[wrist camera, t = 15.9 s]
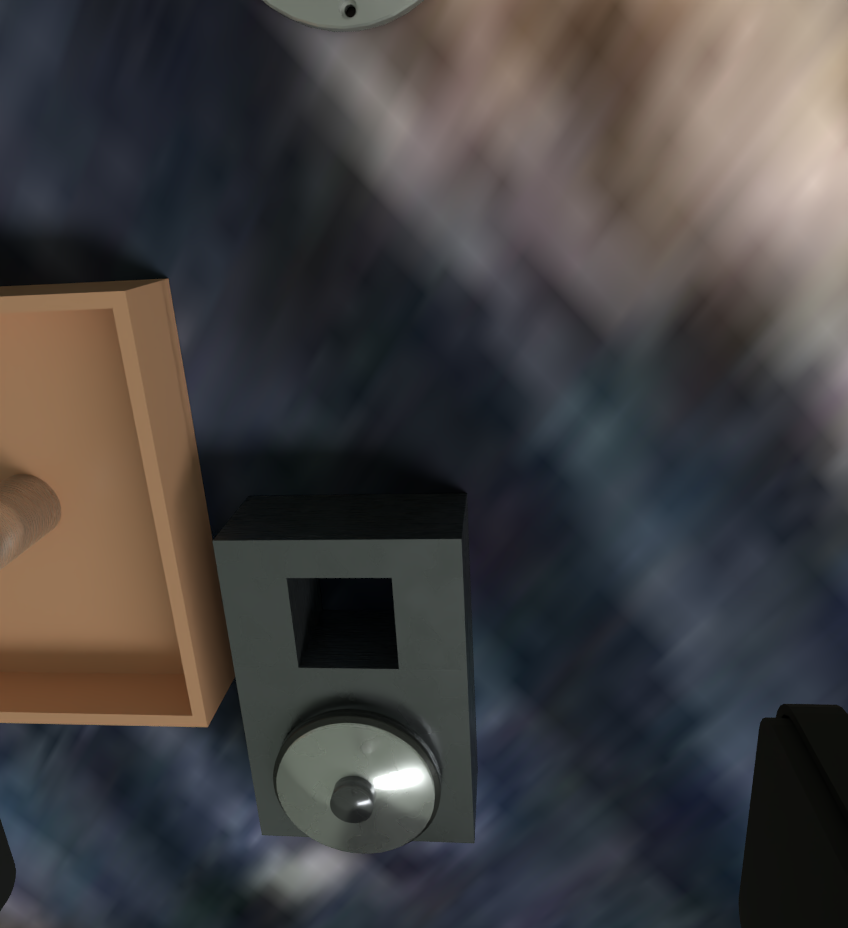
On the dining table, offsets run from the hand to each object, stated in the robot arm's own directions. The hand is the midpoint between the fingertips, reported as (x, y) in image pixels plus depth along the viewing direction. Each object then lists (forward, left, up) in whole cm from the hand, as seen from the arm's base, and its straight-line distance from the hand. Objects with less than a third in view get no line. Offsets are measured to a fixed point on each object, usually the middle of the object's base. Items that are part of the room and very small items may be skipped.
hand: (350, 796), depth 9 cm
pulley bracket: (+20, -7, -33) cm, 39 cm away
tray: (+10, -27, -33) cm, 44 cm away
